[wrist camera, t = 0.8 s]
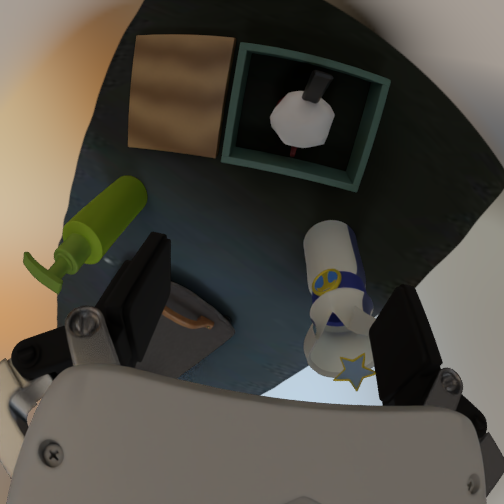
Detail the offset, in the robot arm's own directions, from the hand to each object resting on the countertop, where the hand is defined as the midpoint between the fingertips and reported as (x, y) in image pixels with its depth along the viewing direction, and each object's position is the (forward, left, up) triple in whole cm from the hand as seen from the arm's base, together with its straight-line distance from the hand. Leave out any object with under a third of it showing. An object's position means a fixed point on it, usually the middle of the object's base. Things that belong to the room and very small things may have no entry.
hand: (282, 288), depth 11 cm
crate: (-3, +1, -26) cm, 27 cm away
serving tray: (+43, -18, -27) cm, 54 cm away
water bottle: (+14, +9, -27) cm, 31 cm away
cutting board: (-3, -14, -26) cm, 30 cm away
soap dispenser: (+12, -21, -27) cm, 36 cm away
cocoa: (-3, +1, -27) cm, 27 cm away
